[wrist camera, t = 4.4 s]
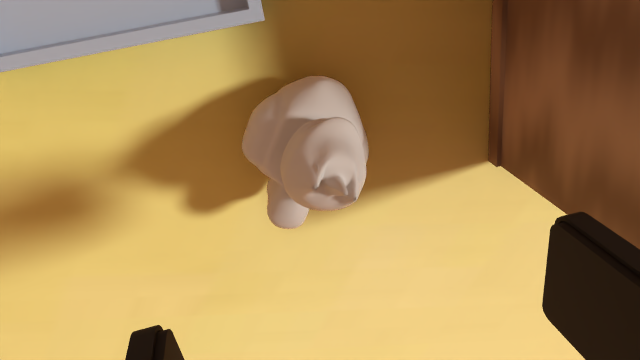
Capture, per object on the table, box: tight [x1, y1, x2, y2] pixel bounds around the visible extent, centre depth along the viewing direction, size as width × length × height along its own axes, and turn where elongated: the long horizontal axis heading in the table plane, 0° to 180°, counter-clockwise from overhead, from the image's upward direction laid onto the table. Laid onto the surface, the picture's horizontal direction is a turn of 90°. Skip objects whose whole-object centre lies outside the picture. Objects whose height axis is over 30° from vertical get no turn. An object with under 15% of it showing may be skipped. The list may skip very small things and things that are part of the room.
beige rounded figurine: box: [242, 76, 369, 229], centre depth 18 cm, size 5×7×8 cm
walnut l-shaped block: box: [488, 0, 640, 249], centre depth 16 cm, size 16×5×10 cm, turn 9°
